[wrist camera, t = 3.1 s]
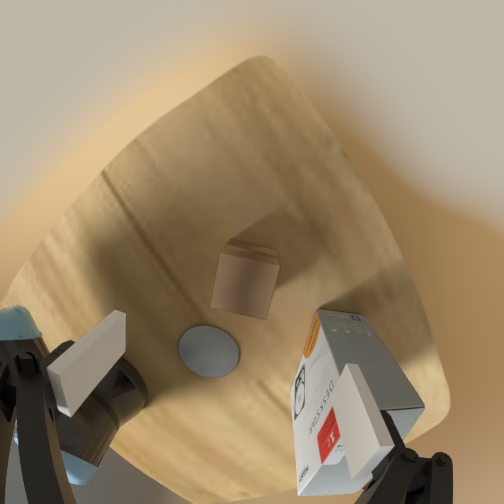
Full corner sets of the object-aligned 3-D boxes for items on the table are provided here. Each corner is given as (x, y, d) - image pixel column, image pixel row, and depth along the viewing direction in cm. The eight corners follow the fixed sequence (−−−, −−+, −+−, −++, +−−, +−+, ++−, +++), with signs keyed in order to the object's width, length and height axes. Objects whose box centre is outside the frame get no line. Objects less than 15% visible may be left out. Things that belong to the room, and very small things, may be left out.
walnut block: (221, 283, 36) (209, 307, 28) (230, 239, 35) (220, 252, 27) (266, 293, 36) (266, 320, 28) (276, 250, 35) (280, 265, 27)
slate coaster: (177, 365, 40) (176, 368, 39) (183, 317, 38) (181, 319, 37) (233, 380, 40) (232, 383, 39) (244, 332, 38) (244, 335, 37)
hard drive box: (315, 306, 36) (356, 408, 17) (365, 313, 36) (431, 404, 16) (288, 392, 39) (297, 498, 20) (332, 396, 39) (359, 493, 20)
